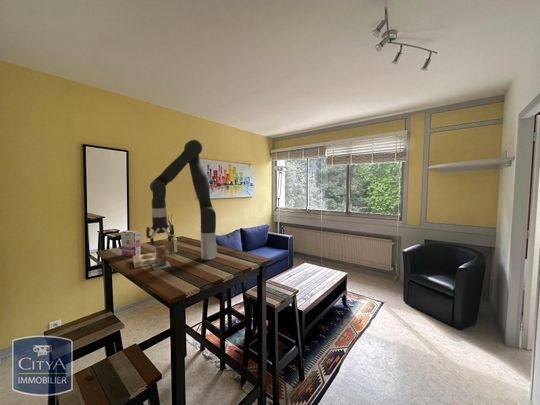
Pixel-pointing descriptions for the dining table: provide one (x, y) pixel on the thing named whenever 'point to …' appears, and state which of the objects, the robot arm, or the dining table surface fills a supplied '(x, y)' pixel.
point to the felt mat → (161, 266)
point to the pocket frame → (144, 260)
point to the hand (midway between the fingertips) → (161, 243)
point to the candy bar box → (130, 243)
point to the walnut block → (161, 255)
